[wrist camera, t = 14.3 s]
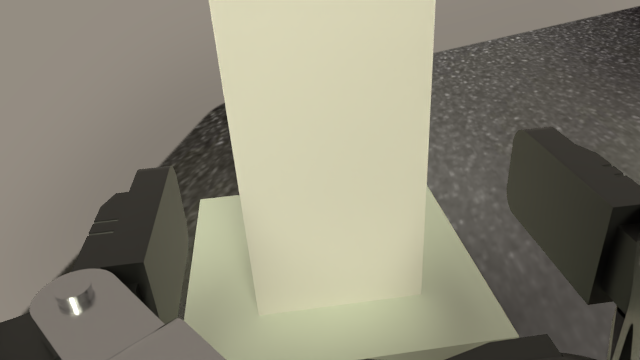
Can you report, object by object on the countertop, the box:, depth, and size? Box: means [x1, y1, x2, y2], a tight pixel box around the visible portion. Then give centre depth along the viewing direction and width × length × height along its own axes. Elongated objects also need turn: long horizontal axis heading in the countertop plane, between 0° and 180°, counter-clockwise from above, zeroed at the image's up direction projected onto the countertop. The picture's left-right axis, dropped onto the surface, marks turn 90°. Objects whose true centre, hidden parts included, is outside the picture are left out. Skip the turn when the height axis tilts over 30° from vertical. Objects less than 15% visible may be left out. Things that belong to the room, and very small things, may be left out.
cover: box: [209, 0, 436, 315], centre depth 20 cm, size 6×6×13 cm
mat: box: [184, 186, 519, 360], centre depth 23 cm, size 12×12×1 cm
